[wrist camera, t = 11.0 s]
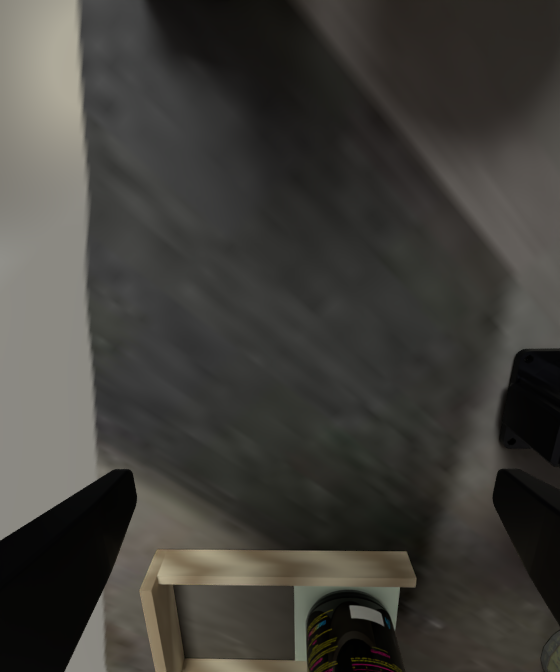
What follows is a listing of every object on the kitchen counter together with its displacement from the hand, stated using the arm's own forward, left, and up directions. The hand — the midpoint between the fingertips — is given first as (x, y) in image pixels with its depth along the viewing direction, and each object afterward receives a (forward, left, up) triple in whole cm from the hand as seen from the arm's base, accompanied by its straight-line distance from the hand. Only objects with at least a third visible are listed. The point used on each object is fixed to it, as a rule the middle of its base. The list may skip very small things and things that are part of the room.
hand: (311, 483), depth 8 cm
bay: (+1, +23, -12) cm, 26 cm away
